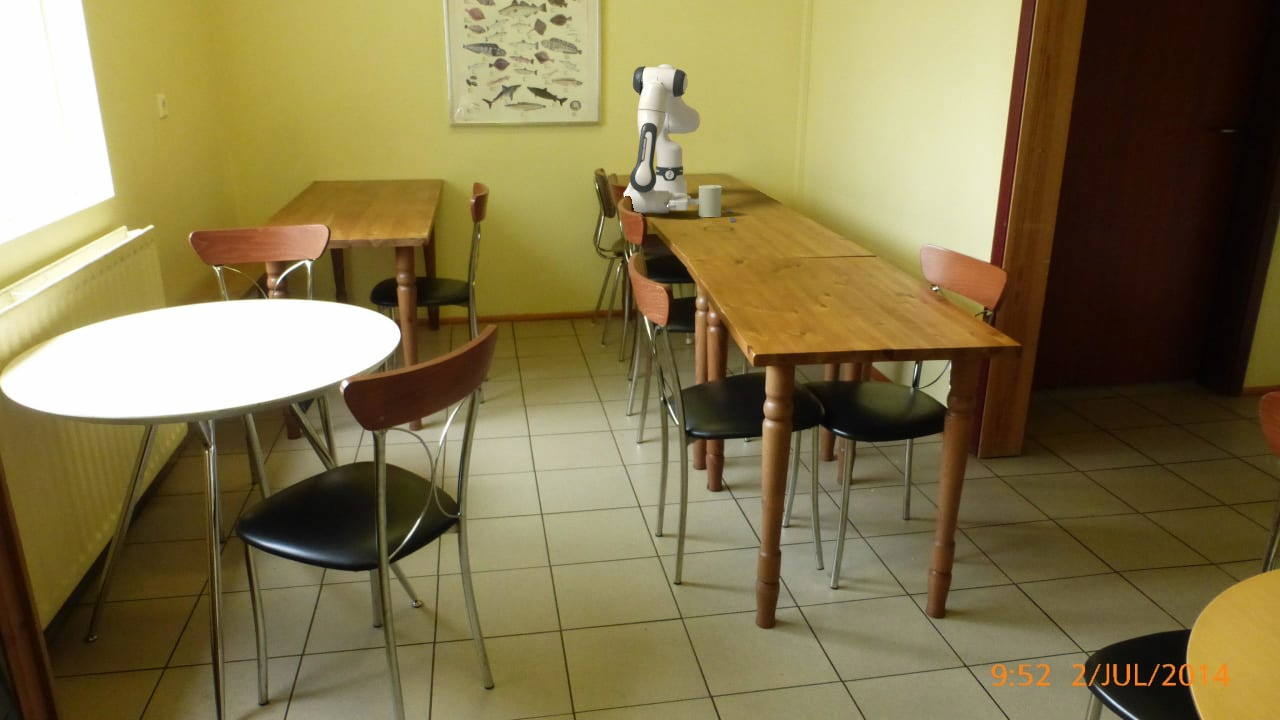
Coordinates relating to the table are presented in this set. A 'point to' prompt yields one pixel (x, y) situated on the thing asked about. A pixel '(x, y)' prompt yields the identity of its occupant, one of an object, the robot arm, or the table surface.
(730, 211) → the strip
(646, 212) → the robot arm
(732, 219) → the line strip
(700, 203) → the can
